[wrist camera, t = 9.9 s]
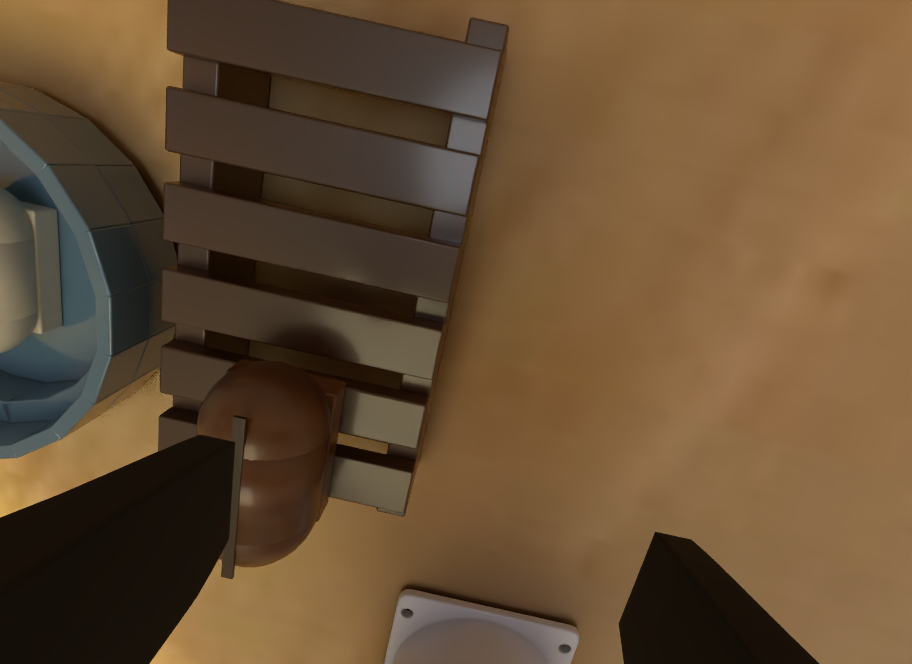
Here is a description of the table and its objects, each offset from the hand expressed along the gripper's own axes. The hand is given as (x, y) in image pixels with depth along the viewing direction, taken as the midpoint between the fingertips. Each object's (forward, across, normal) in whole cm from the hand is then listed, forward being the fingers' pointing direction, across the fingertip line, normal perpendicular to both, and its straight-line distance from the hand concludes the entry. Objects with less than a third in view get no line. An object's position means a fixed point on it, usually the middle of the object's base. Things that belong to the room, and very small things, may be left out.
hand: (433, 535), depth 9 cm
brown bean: (+6, +5, +3) cm, 9 cm away
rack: (+10, +5, -2) cm, 12 cm away
